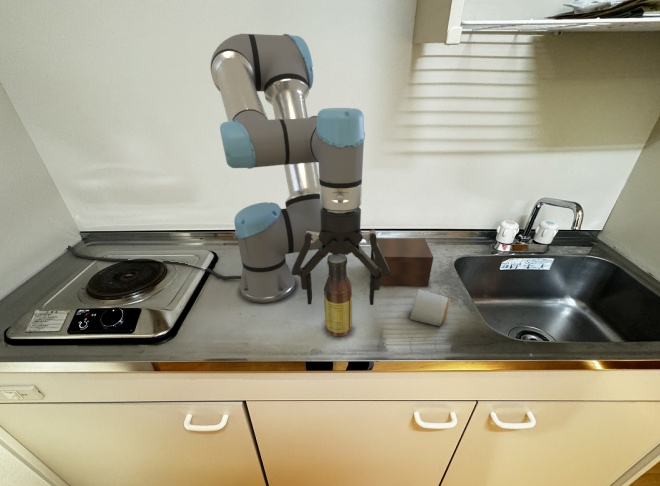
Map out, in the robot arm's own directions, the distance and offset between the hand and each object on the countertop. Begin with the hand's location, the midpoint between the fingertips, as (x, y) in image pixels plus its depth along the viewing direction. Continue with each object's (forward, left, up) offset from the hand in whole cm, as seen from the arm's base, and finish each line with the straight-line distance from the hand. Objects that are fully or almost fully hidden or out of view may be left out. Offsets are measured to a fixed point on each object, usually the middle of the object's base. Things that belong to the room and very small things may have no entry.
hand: (340, 301), depth 70 cm
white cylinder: (+22, +6, -9) cm, 25 cm away
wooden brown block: (+17, +26, -9) cm, 33 cm away
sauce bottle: (-1, +1, -9) cm, 9 cm away
